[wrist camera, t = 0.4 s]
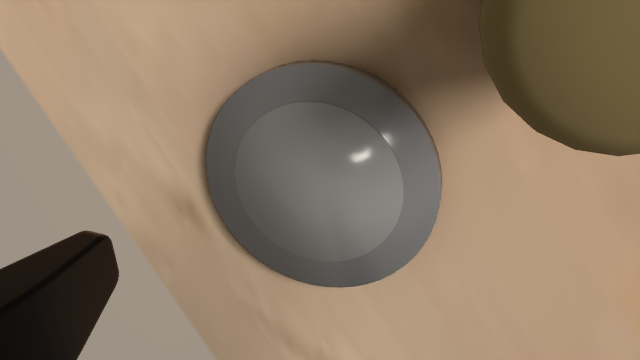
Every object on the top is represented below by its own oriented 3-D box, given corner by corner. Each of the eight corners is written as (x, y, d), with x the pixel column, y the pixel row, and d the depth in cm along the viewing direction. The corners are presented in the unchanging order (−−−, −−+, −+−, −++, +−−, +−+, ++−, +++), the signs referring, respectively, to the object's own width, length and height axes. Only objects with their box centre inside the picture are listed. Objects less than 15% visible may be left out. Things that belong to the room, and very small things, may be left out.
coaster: (424, 297, 25) (421, 310, 25) (217, 253, 28) (208, 263, 27) (460, 77, 21) (458, 84, 20) (210, 46, 23) (200, 50, 23)
